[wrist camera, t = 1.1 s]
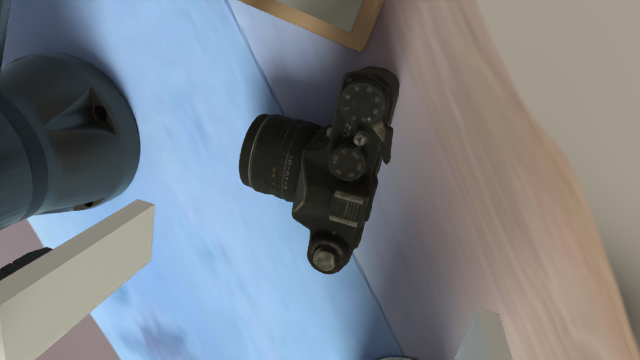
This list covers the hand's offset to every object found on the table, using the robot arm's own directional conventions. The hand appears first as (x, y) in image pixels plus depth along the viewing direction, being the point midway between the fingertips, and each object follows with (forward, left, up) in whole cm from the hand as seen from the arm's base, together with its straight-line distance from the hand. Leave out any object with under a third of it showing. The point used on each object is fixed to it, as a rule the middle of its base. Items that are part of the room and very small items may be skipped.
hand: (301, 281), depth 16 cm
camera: (-3, -1, -20) cm, 20 cm away
